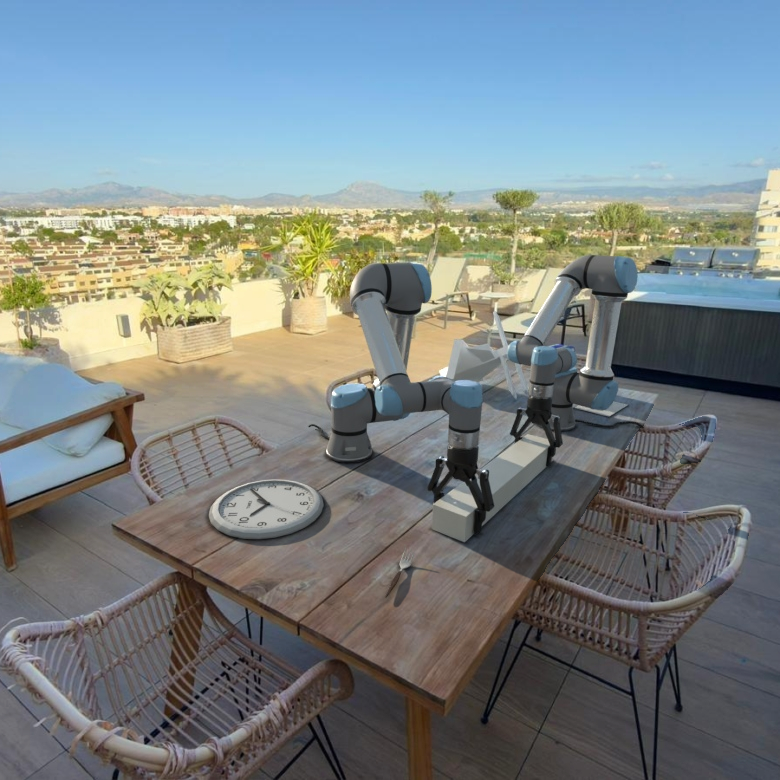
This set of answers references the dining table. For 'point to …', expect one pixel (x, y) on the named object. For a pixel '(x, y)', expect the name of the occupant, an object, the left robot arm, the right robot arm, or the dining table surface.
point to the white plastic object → (481, 361)
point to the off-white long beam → (505, 482)
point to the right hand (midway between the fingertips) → (533, 460)
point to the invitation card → (608, 412)
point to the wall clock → (266, 509)
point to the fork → (403, 565)
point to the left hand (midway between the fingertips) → (458, 524)
